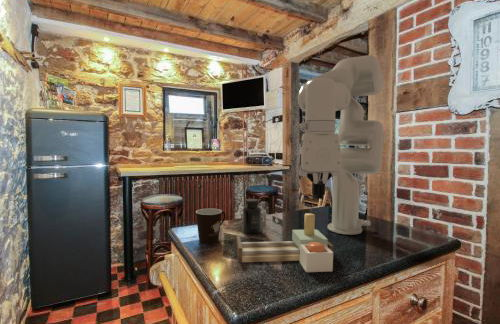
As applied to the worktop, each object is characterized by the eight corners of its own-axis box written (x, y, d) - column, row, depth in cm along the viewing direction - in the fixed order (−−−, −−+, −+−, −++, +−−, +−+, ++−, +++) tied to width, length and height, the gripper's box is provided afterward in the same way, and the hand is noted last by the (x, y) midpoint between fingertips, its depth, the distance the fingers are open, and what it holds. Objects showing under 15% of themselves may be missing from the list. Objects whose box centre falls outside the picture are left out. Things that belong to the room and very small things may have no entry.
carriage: (316, 238, 87) (317, 210, 87) (327, 249, 78) (328, 218, 78) (292, 239, 86) (292, 211, 86) (300, 250, 78) (300, 218, 77)
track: (320, 246, 88) (320, 234, 88) (332, 259, 78) (333, 245, 78) (236, 248, 85) (236, 235, 85) (238, 262, 75) (238, 248, 75)
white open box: (323, 261, 77) (324, 243, 77) (332, 271, 71) (333, 252, 71) (299, 262, 76) (300, 244, 76) (306, 272, 70) (306, 253, 70)
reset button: (320, 252, 76) (320, 241, 75) (326, 258, 72) (326, 247, 71) (305, 252, 75) (306, 242, 75) (310, 259, 71) (311, 248, 71)
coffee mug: (200, 247, 86) (200, 215, 85) (192, 238, 94) (192, 209, 93) (234, 241, 91) (234, 212, 91) (224, 233, 99) (224, 206, 98)
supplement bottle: (261, 229, 105) (262, 198, 104) (260, 235, 98) (260, 202, 97) (243, 228, 106) (244, 197, 105) (241, 234, 99) (241, 201, 98)
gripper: (295, 127, 67) (294, 201, 68) (354, 128, 68) (351, 200, 70) (288, 128, 74) (287, 195, 76) (341, 128, 76) (339, 194, 77)
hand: (318, 197), depth 73 cm, fingers closed
